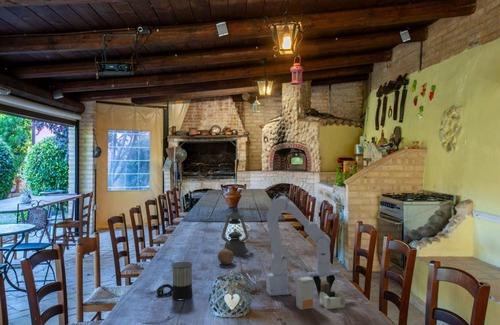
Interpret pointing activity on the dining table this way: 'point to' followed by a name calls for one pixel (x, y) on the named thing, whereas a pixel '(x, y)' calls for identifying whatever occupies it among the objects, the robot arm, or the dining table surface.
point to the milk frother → (179, 281)
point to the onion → (225, 256)
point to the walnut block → (324, 287)
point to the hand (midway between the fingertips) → (323, 292)
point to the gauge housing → (332, 300)
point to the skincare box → (304, 292)
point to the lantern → (235, 233)
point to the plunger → (330, 293)
